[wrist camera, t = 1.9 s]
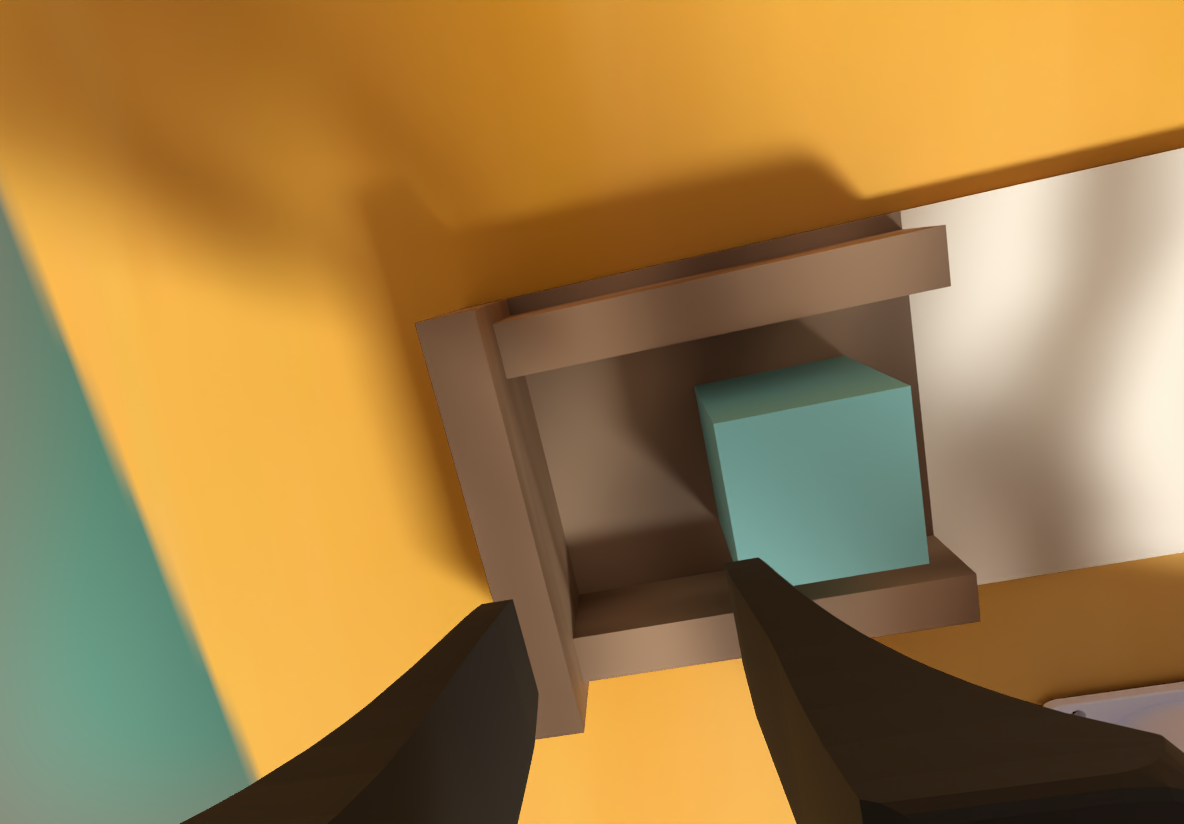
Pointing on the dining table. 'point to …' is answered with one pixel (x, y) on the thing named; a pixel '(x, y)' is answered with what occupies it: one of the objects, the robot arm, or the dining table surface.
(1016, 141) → the dining table surface
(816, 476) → the teal block
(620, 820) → the dining table surface
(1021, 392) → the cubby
